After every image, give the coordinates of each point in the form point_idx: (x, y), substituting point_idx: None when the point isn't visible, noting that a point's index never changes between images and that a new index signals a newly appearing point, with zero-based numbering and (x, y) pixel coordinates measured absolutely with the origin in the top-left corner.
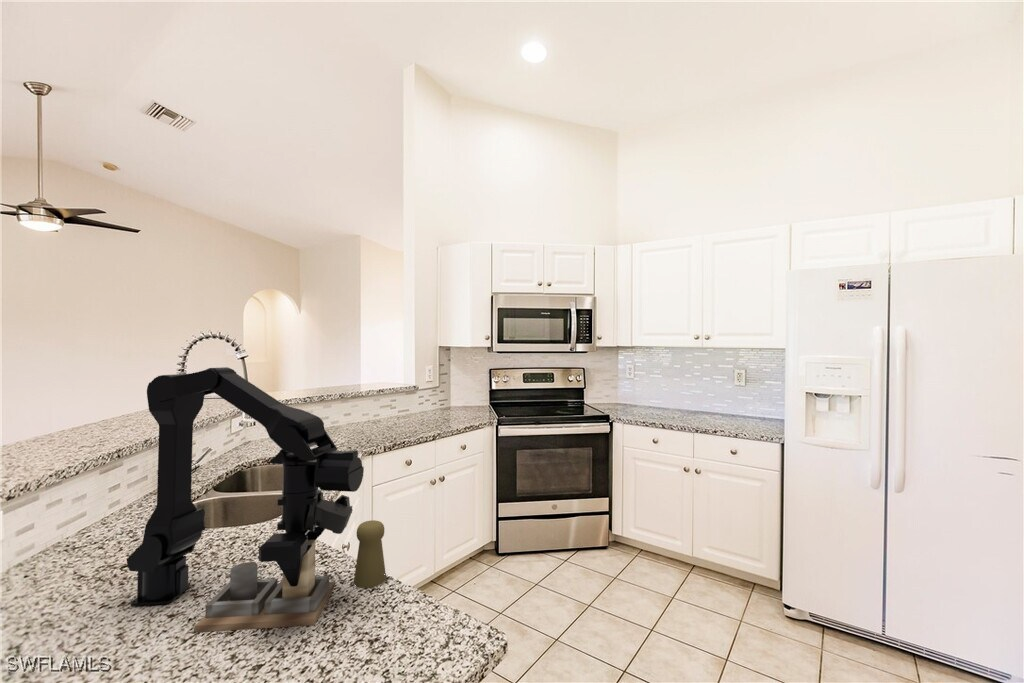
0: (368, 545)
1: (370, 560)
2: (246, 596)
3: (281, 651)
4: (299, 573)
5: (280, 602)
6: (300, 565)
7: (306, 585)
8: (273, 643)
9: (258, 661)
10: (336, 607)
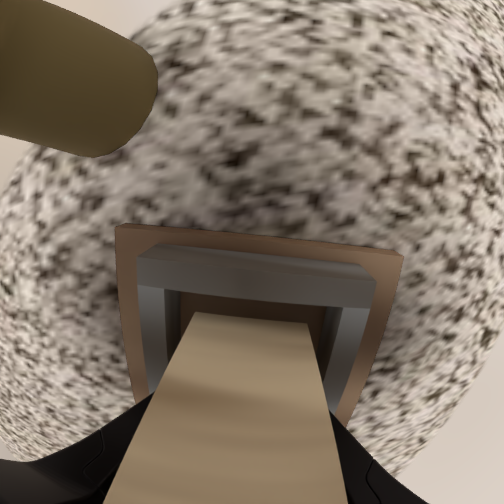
0: (21, 30)
1: (87, 43)
2: None
3: (468, 309)
4: (338, 435)
5: (337, 400)
6: (371, 472)
7: (315, 357)
8: (432, 340)
9: (474, 343)
10: (292, 186)
